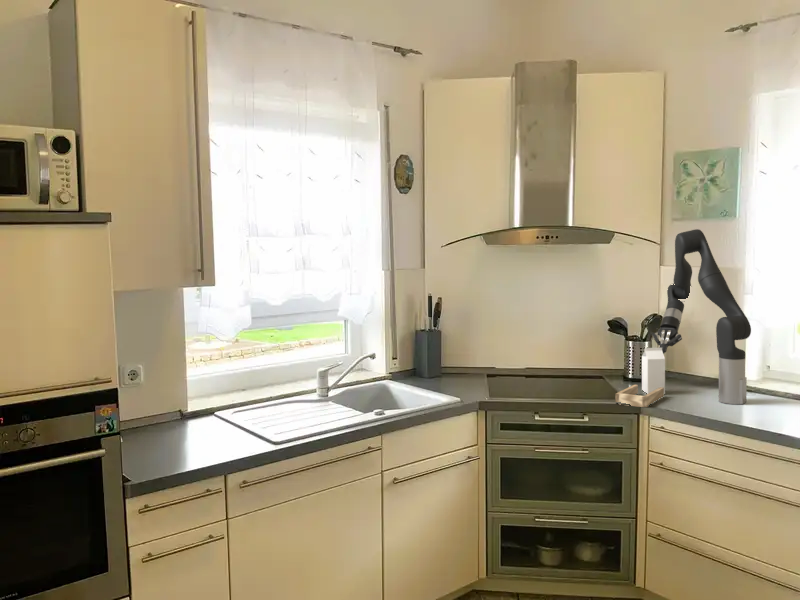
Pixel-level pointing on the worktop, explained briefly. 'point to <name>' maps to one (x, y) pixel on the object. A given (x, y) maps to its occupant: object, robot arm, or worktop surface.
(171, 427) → the worktop surface
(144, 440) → the worktop surface
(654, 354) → the milk carton
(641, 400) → the U-rest
